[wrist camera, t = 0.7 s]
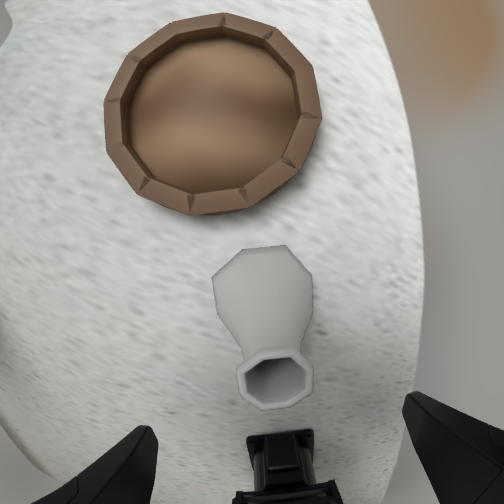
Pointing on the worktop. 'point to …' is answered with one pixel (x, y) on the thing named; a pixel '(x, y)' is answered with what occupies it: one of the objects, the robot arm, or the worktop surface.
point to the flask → (267, 323)
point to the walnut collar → (211, 114)
